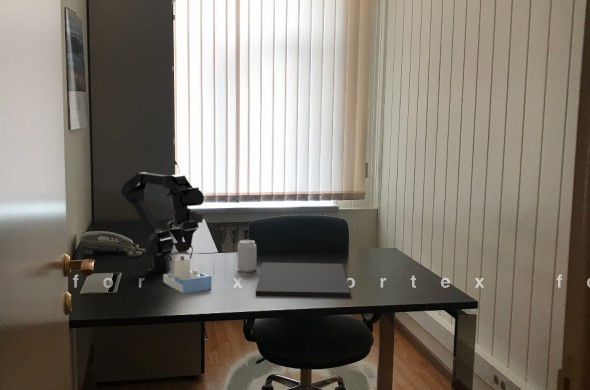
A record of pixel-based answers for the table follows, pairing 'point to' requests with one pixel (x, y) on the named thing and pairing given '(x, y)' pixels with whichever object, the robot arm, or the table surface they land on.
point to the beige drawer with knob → (182, 268)
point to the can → (247, 255)
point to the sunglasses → (181, 249)
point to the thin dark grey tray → (302, 280)
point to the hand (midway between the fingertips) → (185, 246)
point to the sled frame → (189, 282)
